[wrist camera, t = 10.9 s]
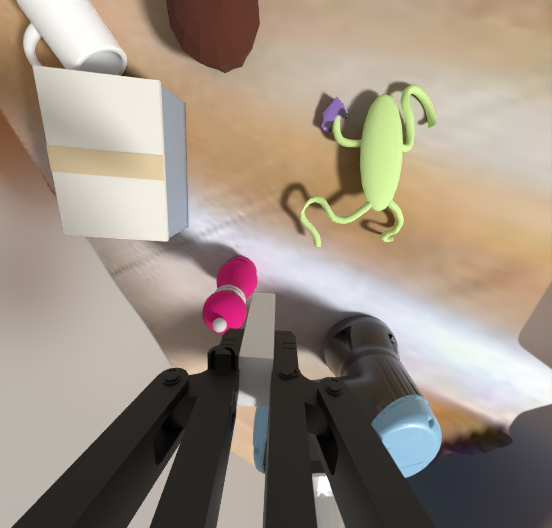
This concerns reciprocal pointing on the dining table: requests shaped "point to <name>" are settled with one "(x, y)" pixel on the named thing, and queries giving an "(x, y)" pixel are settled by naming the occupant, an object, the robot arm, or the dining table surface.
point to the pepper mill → (230, 295)
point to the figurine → (375, 154)
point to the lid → (105, 152)
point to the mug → (72, 36)
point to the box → (175, 161)
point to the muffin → (215, 30)
